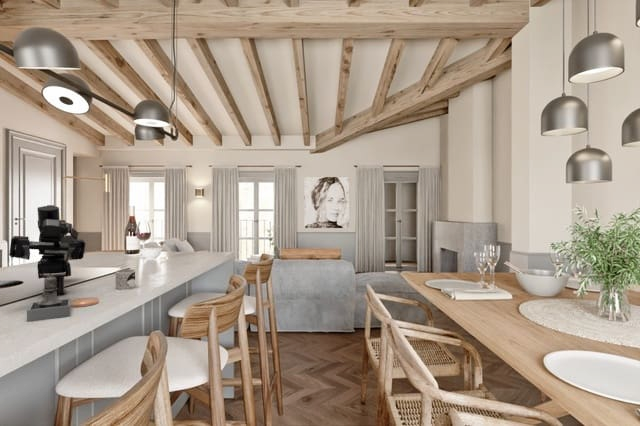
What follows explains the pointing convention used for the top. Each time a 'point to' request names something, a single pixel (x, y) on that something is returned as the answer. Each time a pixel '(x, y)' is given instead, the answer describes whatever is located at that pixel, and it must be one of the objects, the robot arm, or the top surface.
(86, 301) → the coaster
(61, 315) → the tub
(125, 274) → the grey speckled block
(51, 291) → the grey tall domed piece
